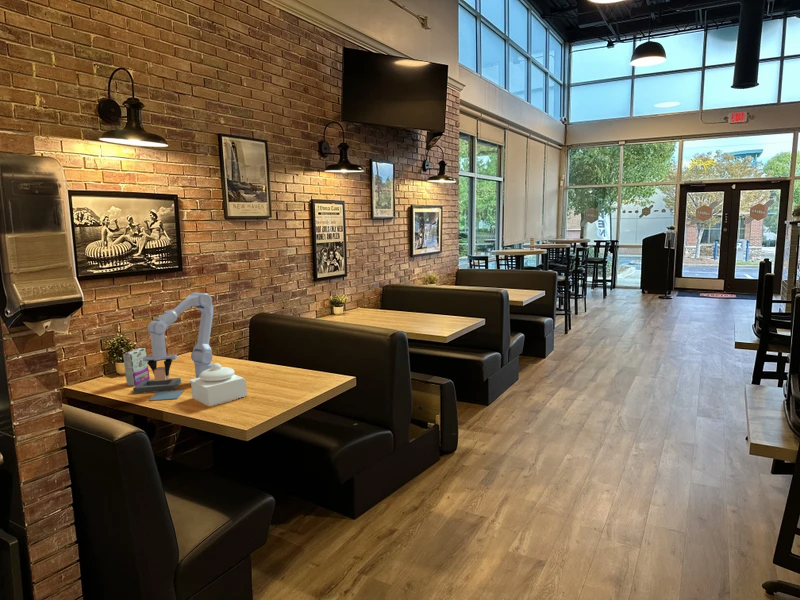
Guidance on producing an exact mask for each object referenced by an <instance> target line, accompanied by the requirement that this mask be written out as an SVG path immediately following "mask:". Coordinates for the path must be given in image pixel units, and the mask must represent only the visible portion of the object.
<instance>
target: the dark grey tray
mask: <svg viewBox="0 0 800 600" xmlns="http://www.w3.org/2000/svg"><path fill="white" fill-rule="evenodd" d="M181 383H182V377H172V378H167V379H166V380H162V381H155V379H149V380H143V381H141V382H140V383H139V384H138V385H136V386H133V388H132V391H133V394H143V393H144V392H146V393H154V392H153V391H159V392H163V391H169V390H173V391H176V389H177V388H176V387H177V386H178V387H179V386H180V384H181ZM175 388H176V389H175ZM144 394H145V393H144Z"/></svg>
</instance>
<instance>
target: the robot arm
mask: <svg viewBox="0 0 800 600" xmlns="http://www.w3.org/2000/svg"><path fill="white" fill-rule="evenodd" d="M190 307H191V308H192V307H196V308H197V309H198V310H199V311H200V313H201V314H200V320H199V326H198V327H199V328H198V335H197V342H196V344H195V345H194V346H193V350H192V352H191V355H190V359H191V360H192V362H193V364H194V370H195V371H194V372H195V378H199V376H200V374H201V373H202V372H203V371H205V370H207V369H210V368H211V366H212V365H213V364H214V363H215V362H212V360H213V353H212V352H213V351H212V350H213V349H212V347H211V346H210V340H211V339H210V338H211V332H212V325H213V317H214V305H213V297H212V296H211V295H210V294H209V293H207V292H197V291H195V292H194V291H193V292H191V293H190V294H189V295H187V296H186V298H184V300H183V301H182V302H180V303H179V304H178V305H177V306H175V308H173V309H172V310H170V309H168V310H164V312H163V314H161V315H160V316H159V317H156V318H155V320H151V321H150V322H149V323H148V325H147V327H146V330H147V331H148V332H149V335H150V341H151V352H152V355H149V356H147V357H143V362H146V361H147V362H148V367H149V368H150V369H151V371H152V373H153V374H154V370H155V369H156V368H157V367H158V366H157V364H158V363H157V362H159V361H163V364H164V367H165V370H166V376H168V375H169V376H170V369H171V365H172V362H173V361H174V360H175V361H177V360H178V354H167V349H166V347H167V346H166V338H165V332H166V331H167V328H168V327H169V326H171V325H172V324H173V323H174V322H176V321H177V320H178V316H179V315H181V314H182V313H184V312H185V311H187V310H188V309H189V308H190Z"/></svg>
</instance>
